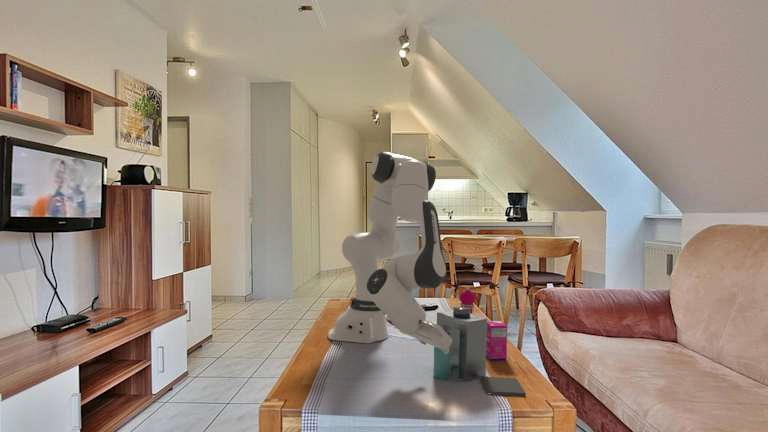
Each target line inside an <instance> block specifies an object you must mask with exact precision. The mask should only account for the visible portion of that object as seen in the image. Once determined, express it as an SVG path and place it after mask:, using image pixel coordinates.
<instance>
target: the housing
mask: <svg viewBox="0 0 768 432" xmlns="http://www.w3.org/2000/svg"><path fill="white" fill-rule="evenodd" d="M487 321H488V318H486V317H483V316H481V315H477V314H474V313H472V314H471V313H470V308H467V307H460V306H454V307H453V309H448V310H441V311H436V324H437V325H439V326H440V327H441V328H442V329H443V330H444V331H445V332H448V333H450V337H451V338H452V348H451V367H453V368H456V367H458V374H457V375H458V376H457V377H458V379H460V380H461V379H462V380H461V381H463V380H464V381H463V382H465V381H467V382H470V381H473V379H474V380H477V379H480V378H479V377H487V376H486V372H487V371H486V369H487V356H486V345H487ZM476 378H477V379H476Z"/></svg>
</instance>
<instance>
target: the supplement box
mask: <svg viewBox="0 0 768 432" xmlns="http://www.w3.org/2000/svg"><path fill="white" fill-rule="evenodd" d="M507 347H508V325H507V324H506V323H504V322H503V321H501V320H491V321H490V320H487V345H486V358H488V360H490V361H507V357H508V356H507V355H508V354H507V351H508V349H507Z"/></svg>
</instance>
